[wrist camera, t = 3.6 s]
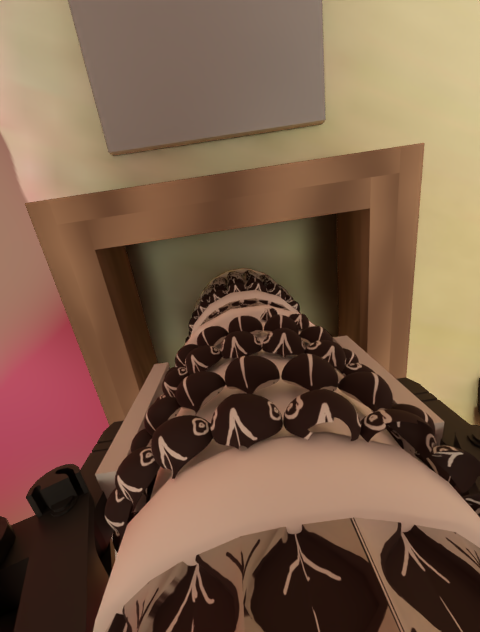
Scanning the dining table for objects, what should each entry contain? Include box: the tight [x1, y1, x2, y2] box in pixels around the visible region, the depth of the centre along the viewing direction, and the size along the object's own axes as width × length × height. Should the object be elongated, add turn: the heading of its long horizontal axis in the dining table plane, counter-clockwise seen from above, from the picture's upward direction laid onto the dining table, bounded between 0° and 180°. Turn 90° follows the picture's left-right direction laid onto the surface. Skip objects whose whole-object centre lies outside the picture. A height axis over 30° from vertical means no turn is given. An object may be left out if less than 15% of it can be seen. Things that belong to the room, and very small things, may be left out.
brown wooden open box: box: [25, 143, 424, 425], centre depth 20 cm, size 20×20×8 cm
